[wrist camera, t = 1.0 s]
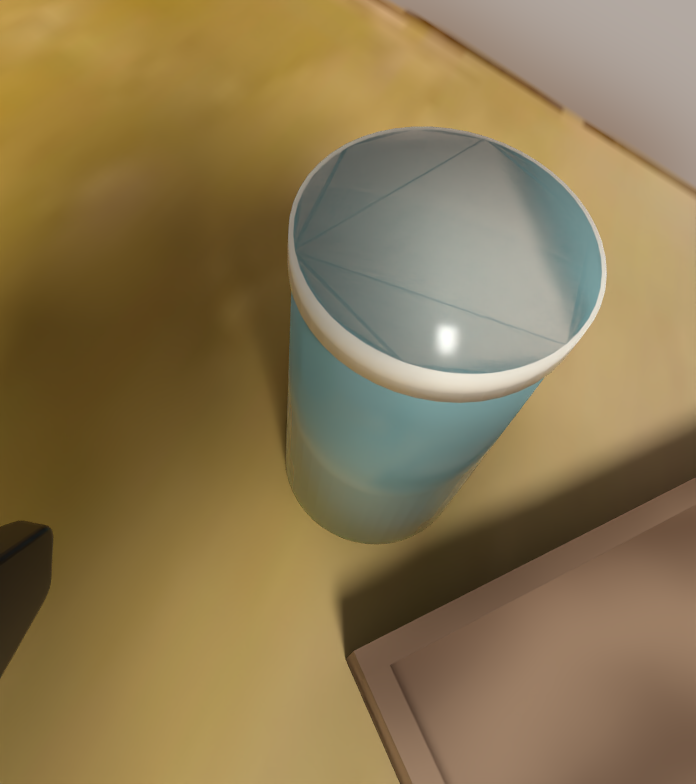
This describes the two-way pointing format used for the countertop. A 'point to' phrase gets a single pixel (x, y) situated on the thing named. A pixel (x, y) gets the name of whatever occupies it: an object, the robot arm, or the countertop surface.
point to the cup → (423, 318)
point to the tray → (553, 665)
